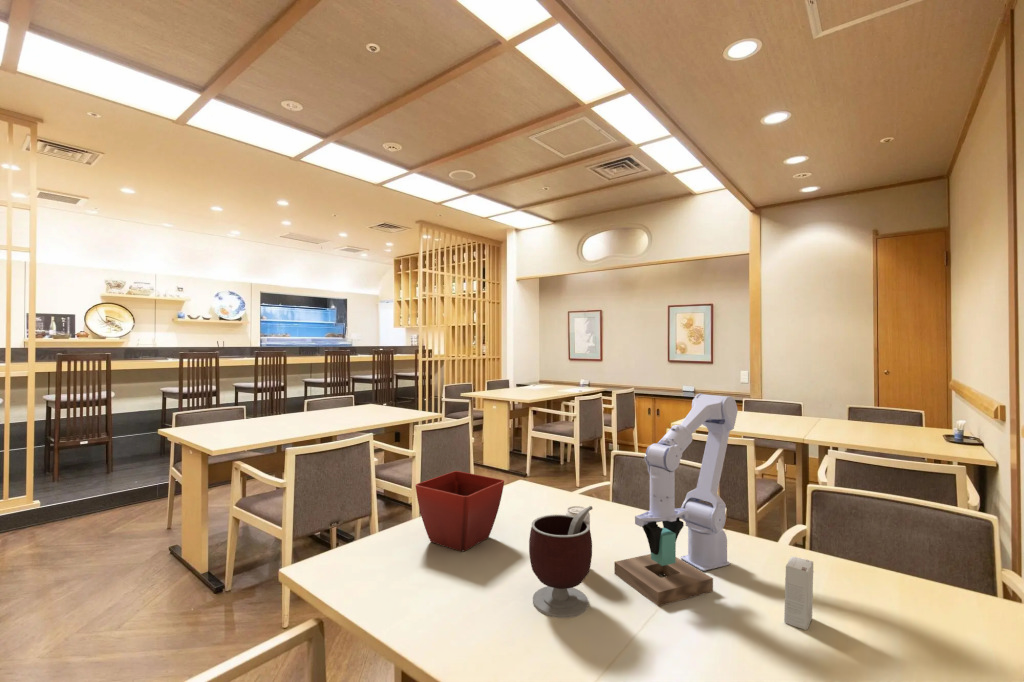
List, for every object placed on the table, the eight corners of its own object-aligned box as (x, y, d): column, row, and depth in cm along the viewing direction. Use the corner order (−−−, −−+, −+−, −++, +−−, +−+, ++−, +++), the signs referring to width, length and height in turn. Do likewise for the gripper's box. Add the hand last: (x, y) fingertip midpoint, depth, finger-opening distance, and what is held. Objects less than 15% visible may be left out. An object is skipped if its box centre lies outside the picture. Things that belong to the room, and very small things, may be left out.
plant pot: (505, 536, 142) (505, 479, 143) (466, 560, 126) (466, 496, 126) (455, 522, 153) (455, 470, 153) (413, 543, 137) (413, 484, 137)
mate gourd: (550, 627, 97) (550, 527, 97) (517, 595, 109) (518, 507, 109) (611, 607, 104) (611, 515, 104) (574, 579, 116) (574, 497, 116)
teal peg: (663, 555, 117) (664, 527, 117) (675, 562, 114) (675, 533, 114) (650, 558, 116) (651, 529, 116) (662, 565, 112) (662, 536, 112)
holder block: (665, 562, 125) (665, 550, 125) (713, 591, 111) (713, 578, 111) (614, 573, 119) (614, 561, 119) (658, 606, 104) (658, 592, 104)
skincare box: (789, 610, 103) (789, 554, 103) (813, 618, 100) (813, 560, 100) (783, 623, 98) (783, 564, 98) (808, 632, 95) (808, 571, 95)
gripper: (648, 503, 108) (648, 563, 108) (697, 495, 114) (697, 552, 114) (629, 494, 115) (629, 551, 115) (676, 487, 121) (676, 541, 121)
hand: (661, 551), depth 115 cm, fingers closed on teal peg, 4 cm apart
